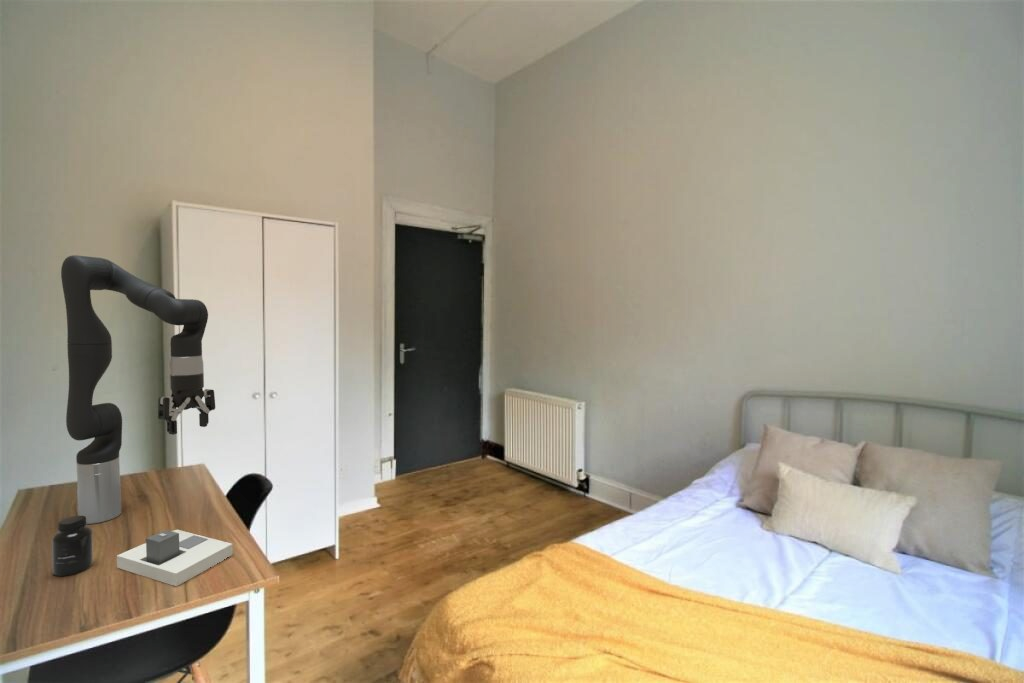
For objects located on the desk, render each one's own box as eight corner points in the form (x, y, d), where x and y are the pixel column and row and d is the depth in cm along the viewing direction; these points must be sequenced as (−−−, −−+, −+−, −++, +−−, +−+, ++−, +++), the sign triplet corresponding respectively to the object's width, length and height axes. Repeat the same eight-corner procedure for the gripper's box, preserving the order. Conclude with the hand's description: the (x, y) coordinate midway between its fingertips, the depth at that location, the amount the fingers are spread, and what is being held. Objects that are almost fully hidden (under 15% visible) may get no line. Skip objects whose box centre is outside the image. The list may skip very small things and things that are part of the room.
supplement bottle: (58, 580, 104) (56, 529, 103) (48, 570, 107) (46, 521, 107) (97, 566, 110) (95, 518, 109) (87, 557, 113) (85, 510, 112)
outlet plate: (117, 567, 109) (116, 554, 109) (176, 540, 123) (176, 528, 122) (176, 586, 103) (176, 572, 103) (232, 555, 116) (232, 543, 116)
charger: (147, 571, 108) (145, 537, 108) (166, 561, 113) (165, 528, 112) (160, 575, 107) (159, 540, 106) (179, 565, 111) (178, 532, 111)
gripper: (202, 368, 134) (203, 422, 135) (149, 374, 121) (151, 435, 122) (221, 370, 132) (222, 425, 133) (169, 376, 118) (171, 438, 119)
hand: (188, 430), depth 127 cm, fingers open, 8 cm apart
